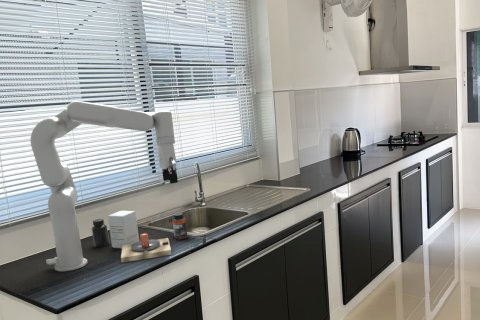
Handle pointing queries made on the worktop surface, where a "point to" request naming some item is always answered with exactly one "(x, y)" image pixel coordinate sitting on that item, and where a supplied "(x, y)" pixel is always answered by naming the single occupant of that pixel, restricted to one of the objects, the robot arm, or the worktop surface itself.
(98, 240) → the supplement bottle
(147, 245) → the dial
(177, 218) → the supplement bottle
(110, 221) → the supplement box
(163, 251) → the board
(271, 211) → the worktop surface
